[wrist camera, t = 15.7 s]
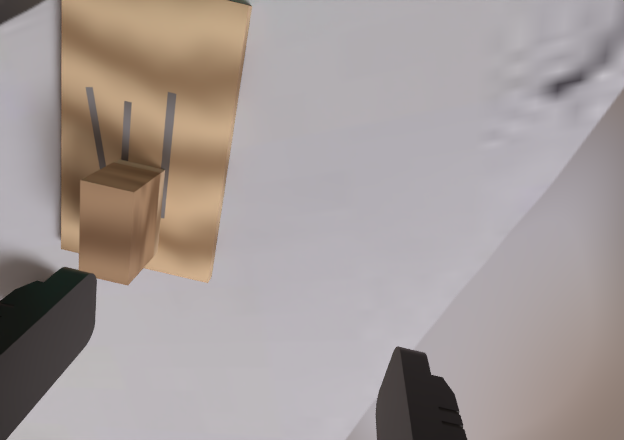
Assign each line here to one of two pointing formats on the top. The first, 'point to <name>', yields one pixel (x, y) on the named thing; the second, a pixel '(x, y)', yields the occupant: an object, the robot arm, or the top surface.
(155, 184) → the block
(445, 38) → the top surface
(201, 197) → the board
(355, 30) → the top surface
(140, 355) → the top surface
